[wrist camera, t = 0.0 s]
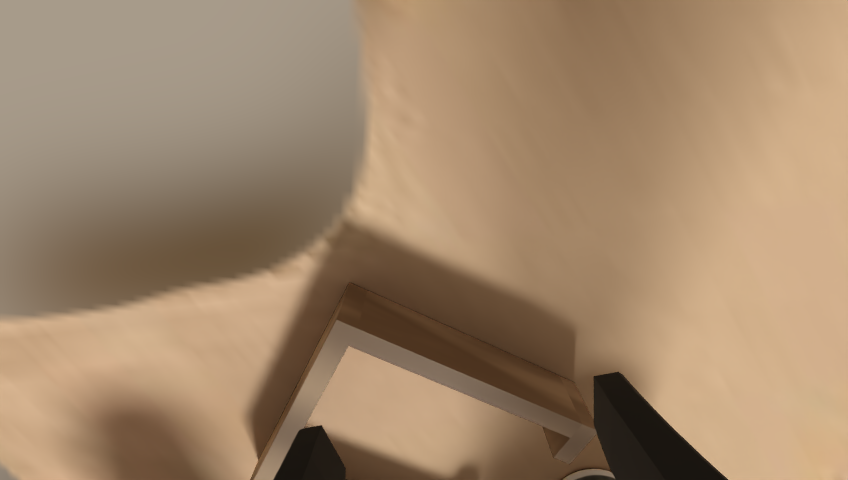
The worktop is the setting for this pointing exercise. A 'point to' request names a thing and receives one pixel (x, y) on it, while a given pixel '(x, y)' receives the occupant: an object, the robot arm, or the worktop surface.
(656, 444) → the robot arm
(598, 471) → the supplement bottle
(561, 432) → the walled box
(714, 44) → the worktop surface
